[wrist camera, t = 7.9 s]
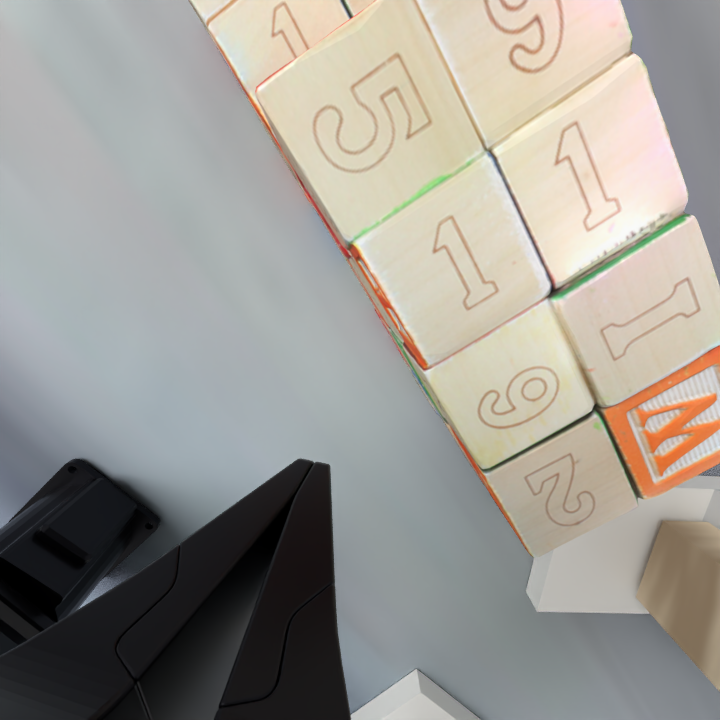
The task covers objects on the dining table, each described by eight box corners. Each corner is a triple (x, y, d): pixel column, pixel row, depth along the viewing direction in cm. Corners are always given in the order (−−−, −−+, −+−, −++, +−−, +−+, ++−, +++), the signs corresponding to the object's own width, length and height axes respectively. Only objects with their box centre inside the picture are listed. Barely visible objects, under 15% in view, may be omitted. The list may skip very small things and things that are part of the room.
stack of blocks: (198, 23, 15) (-304, -823, 3) (314, -66, 15) (188, -1478, 3) (425, 396, 20) (537, 572, 9) (518, 342, 20) (777, 450, 8)
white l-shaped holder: (525, 591, 24) (588, 702, 18) (556, 469, 22) (641, 548, 16) (675, 594, 25) (784, 702, 19) (721, 476, 23) (865, 555, 16)
